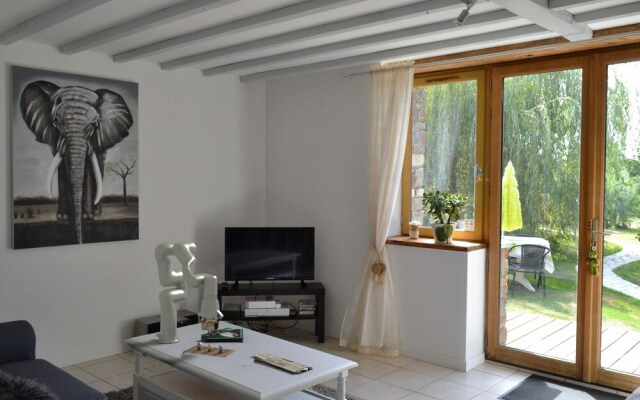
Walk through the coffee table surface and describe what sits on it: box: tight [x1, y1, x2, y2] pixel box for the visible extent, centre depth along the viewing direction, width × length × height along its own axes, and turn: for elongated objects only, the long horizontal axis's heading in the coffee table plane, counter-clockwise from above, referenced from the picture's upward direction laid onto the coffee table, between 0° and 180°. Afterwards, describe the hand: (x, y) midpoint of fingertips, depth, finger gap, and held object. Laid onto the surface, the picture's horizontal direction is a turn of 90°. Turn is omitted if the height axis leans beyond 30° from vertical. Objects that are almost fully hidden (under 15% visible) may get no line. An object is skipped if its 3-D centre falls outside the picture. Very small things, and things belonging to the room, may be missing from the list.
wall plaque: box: [200, 327, 244, 344], centre depth 357 cm, size 30×4×30 cm
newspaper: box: [251, 352, 313, 374], centre depth 311 cm, size 35×12×4 cm, turn 49°
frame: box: [201, 319, 220, 332], centre depth 327 cm, size 7×7×4 cm
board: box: [182, 342, 237, 358], centre depth 328 cm, size 26×14×5 cm, turn 71°
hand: (210, 328), depth 327 cm, fingers closed on frame, 7 cm apart
